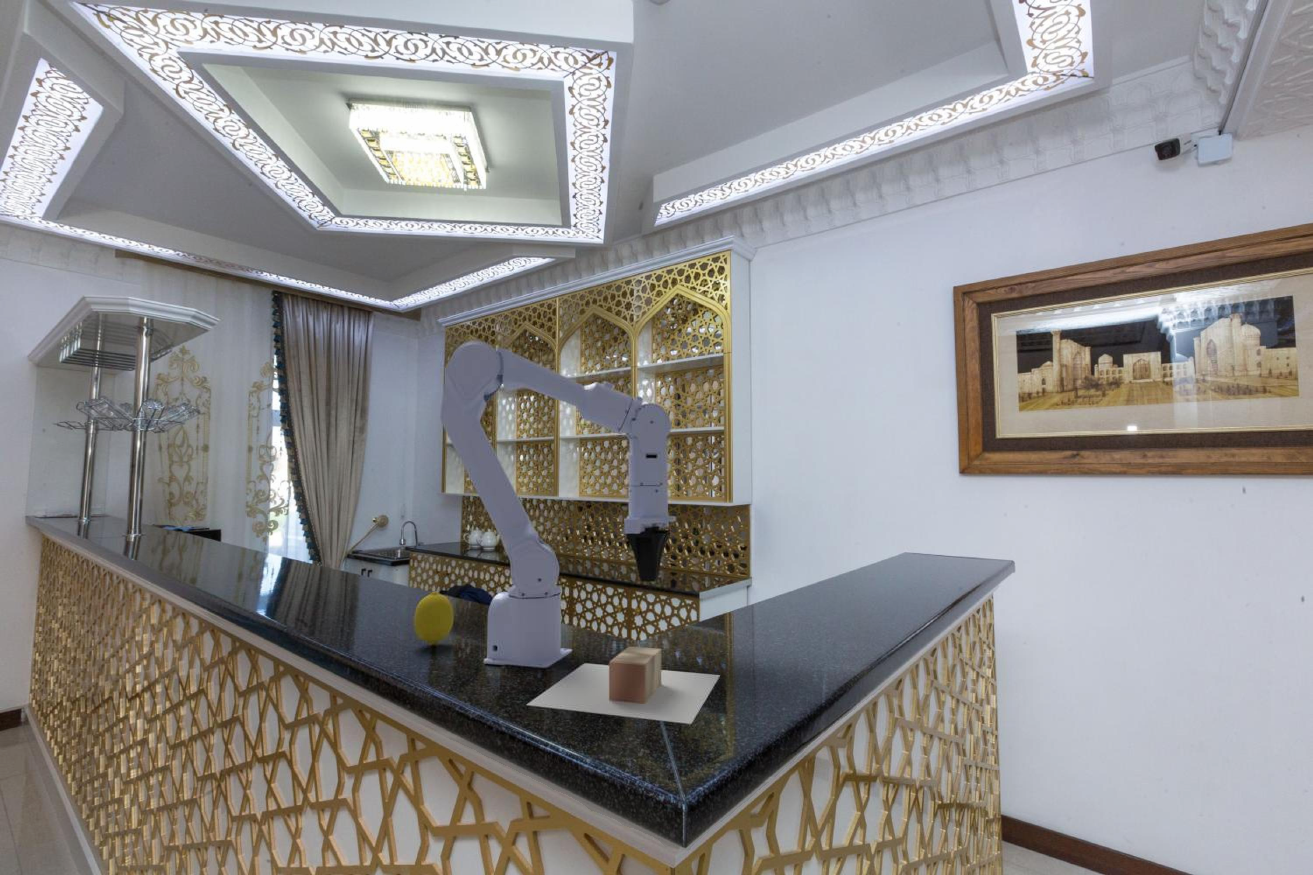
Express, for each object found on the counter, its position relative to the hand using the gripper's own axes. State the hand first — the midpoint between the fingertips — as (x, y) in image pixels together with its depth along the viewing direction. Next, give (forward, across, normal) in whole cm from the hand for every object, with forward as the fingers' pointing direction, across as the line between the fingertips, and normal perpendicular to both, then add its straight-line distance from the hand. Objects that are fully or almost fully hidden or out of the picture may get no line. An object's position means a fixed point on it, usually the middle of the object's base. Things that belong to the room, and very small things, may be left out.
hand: (648, 580), depth 82 cm
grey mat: (+10, -16, -3) cm, 19 cm away
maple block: (+8, -14, -4) cm, 16 cm away
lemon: (+10, -6, +32) cm, 34 cm away
